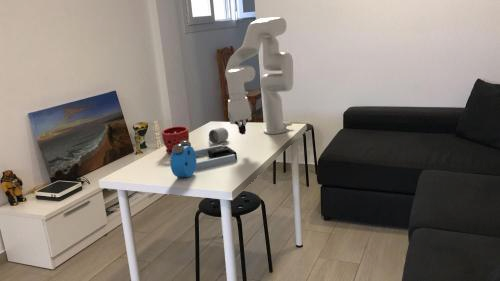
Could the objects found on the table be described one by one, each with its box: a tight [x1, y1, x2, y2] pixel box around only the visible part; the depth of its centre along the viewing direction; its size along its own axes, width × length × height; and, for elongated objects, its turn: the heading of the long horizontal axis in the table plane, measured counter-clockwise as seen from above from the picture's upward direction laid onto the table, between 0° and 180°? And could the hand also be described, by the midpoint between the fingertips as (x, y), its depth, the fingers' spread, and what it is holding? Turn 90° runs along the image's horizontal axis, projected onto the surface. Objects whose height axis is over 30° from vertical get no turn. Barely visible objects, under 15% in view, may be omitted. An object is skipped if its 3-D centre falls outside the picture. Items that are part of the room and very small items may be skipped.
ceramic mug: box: [208, 127, 229, 145], centre depth 238 cm, size 11×8×8 cm
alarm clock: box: [169, 140, 197, 179], centre depth 190 cm, size 13×6×15 cm, turn 163°
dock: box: [194, 144, 237, 170], centre depth 210 cm, size 18×20×3 cm
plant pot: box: [161, 125, 190, 156], centre depth 226 cm, size 13×13×12 cm
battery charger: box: [208, 145, 238, 161], centre depth 210 cm, size 13×10×4 cm
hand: (242, 133), depth 215 cm, fingers closed
